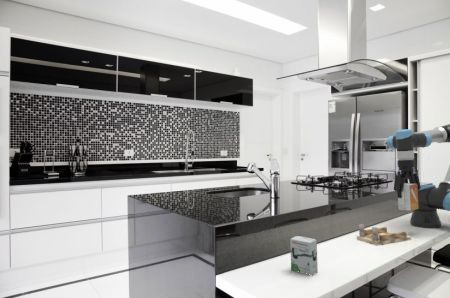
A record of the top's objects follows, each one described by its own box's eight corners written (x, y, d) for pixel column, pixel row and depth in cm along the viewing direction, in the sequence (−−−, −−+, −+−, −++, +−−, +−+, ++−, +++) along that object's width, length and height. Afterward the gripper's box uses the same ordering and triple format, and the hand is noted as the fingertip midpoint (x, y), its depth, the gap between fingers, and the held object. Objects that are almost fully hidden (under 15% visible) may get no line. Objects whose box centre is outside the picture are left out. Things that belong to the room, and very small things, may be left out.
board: (389, 234, 161) (388, 219, 161) (411, 239, 150) (410, 224, 150) (356, 239, 153) (355, 224, 154) (376, 245, 142) (376, 229, 142)
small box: (411, 211, 153) (409, 184, 154) (398, 209, 159) (396, 184, 159) (419, 208, 158) (417, 183, 158) (406, 207, 163) (404, 182, 163)
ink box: (290, 270, 114) (289, 238, 114) (297, 266, 118) (296, 235, 118) (311, 276, 108) (310, 242, 108) (318, 272, 111) (317, 239, 112)
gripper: (413, 158, 166) (416, 200, 166) (383, 160, 159) (386, 204, 158) (427, 158, 159) (430, 202, 159) (396, 160, 152) (399, 206, 151)
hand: (408, 203), depth 158 cm, fingers closed on small box, 9 cm apart
